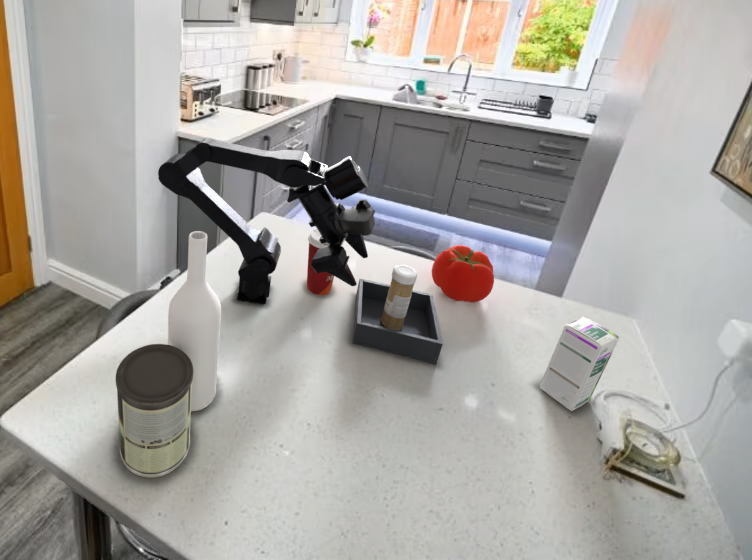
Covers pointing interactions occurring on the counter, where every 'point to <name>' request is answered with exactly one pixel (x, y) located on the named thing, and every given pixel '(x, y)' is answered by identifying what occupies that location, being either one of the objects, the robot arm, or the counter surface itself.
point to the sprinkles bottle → (398, 296)
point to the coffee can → (154, 409)
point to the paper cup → (315, 281)
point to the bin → (418, 326)
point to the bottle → (197, 323)
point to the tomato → (463, 274)
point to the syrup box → (578, 362)
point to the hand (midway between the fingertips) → (360, 270)
